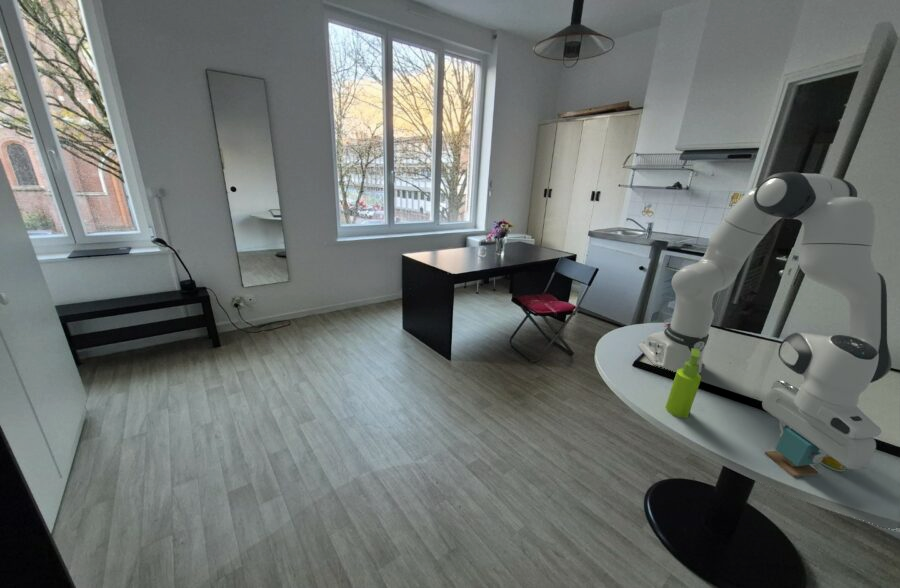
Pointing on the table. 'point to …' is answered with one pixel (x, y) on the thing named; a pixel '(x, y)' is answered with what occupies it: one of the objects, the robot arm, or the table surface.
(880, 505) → the table surface
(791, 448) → the teal rectangular block
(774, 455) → the wooden block stand
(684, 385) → the soap dispenser
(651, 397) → the table surface
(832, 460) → the supplement bottle
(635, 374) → the table surface
